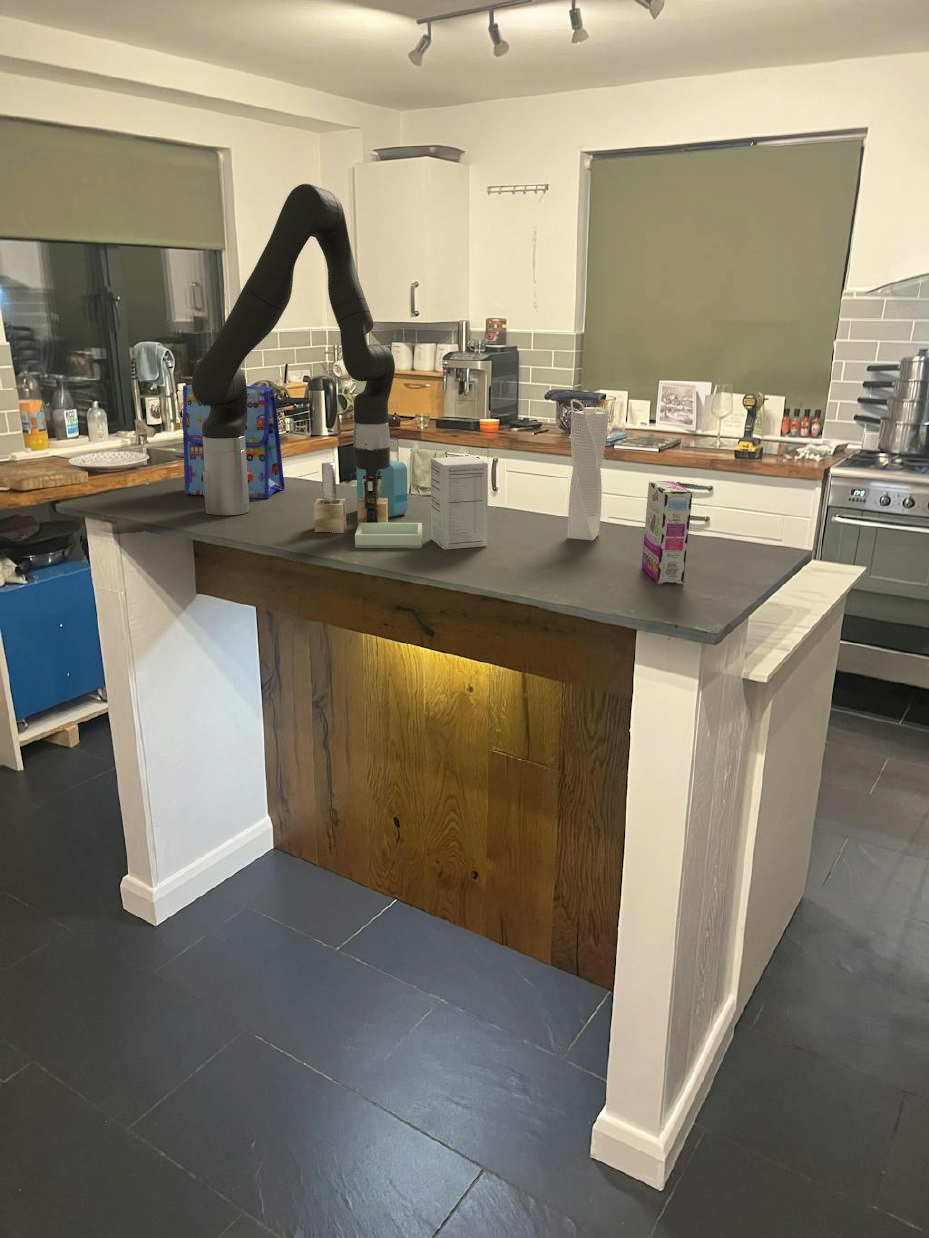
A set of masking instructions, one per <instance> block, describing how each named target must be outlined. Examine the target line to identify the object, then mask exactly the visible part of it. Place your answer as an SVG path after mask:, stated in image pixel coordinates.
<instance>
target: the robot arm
mask: <svg viewBox="0 0 929 1238" xmlns="http://www.w3.org/2000/svg"><path fill="white" fill-rule="evenodd" d="M311 237H313V238H315V239H316V240H315V241H317V244H318V245H319V247H320V250H321V251H322V253H323V256H324V260H325V264H326V269H327V292H328V299H329V303H330V306H331V309H332V312H333V314H334V315H333V316H334V318H335V321H336V323H337V326H338V328H339V332H340V345H341V352H342V353H341V354H342V361H343V366H344V368H345V370H346V372H347V374H348V375H349V376H350V377H351V378H352V379H353V380H354V381H356V382H366V383H365V385H364V390H363V391H362V392H360V393H358V394H356V395H355V396H354V399H353V422H354V423H353V435H352V436H353V467H354V468H358V469H364V470H365V471H366V475H364V476H363V478H362V484H363V486H364V490H363V497H364V499H365V505H364V507H365V509H366V510H367V523H378V520H377V510H378V500H379V499H380V497H381V493H382V486H381V485H382V475H380V474H381V472H380V470H379V469H386V468H388V467H389V466H390V460H391V446H390V445H391V444H390V443H391V439H390V436H391V435H390V427H389V406H388V404H389V399H390V395H391V392H392V391H391V390H392V386H393V382H394V377H395V371H396V363H395V358H394V355H393V353H392V351H391V350H390V348H389V347H388V346H386V345H384V344H376V343H375V344H368V343H367V338H366V337H367V336H366V335H367V334H369V333H370V332H371V331H372V330H373V329H374V320H373V316H372V313H371V310H370V308H369V305H368V302H367V299H366V296H365V294H364V290H363V287H362V285H361V282H360V278H359V276H358V271H357V267H356V263H355V260H354V256H353V249H352V246H351V242H350V236H349V231H348V225H347V220H346V215H345V211H344V208H343V204H342V202H341V201H340V199H339V198H338V196H337V195H336V194H335V193H333V192H331V191H329V190H327V189H325V188H322V187H318V186H317V185H314V184H310V183H301V184H299V185H297V186H295V187H294V188H293V189H292V190H291V191H290V193H289V194H288V195H287V198H286V199H285V201H284V203H283V206H282V207H281V210H280V213H279V215H278V217H277V220H276V223H275V225H274V227H273V230H272V233H271V235H270V236H269V239H268V242H267V243H266V245H265V247H264V249H263V251H262V253H261V254H260V256H259V258H258V261H257V262H256V265H255V267H254V268H253V270H252V272H251V274H250V276H249V277H248V279H247V281H246V282H245V284H244V286H243V288H242V290H241V291H240V293H239V295H238V297H237V300H236V301H235V304H234V305H233V307H232V309H231V310H230V313H229V315H228V316H227V319H226V320H225V322H224V324H223V325H222V328H221V330H220V332H219V334H218V335H217V337H216V338H215V340H214V342H213V343H212V345H211V346H210V348H209V349H208V351H207V352H206V353H205V355H204V356H203V358H201V360H200V362H199V363H198V365H197V366H196V368H195V369H194V372H193V374H192V376H191V383H190V385H191V387H192V392H193V395H194V396H195V398H196V399H197V401H199V402H200V403H202V404H204V405H208V406H210V413H209V416H208V418H207V419H206V420H205V421H204V423H203V424H202V436H203V448H204V461H205V471H204V472H203V481H204V494H205V496H204V504H205V514H206V515H216V516H238V515H242V514H247V513H249V512H250V511H251V508H250V498H249V491H248V475H247V460H246V445H245V426H246V423H247V386H248V385H247V380H246V376H245V373H244V372H243V370H242V368H241V367H240V366H241V365H242V364H243V362H244V360H245V359H246V357H247V356H248V355H249V354H250V353H251V352H252V351H253V350H254V349H255V348H256V347H257V346H258V345H259V344H261V342H263V340H264V339H266V338H267V336H268V335H269V334H270V333H271V332H272V330H273V329H274V328H275V327H276V325H277V324H278V322H279V320H280V319H281V317H282V315H283V313H284V312H285V310H286V308H287V307H288V305H289V303H290V300H291V298H292V297H291V296H292V292H293V284H294V283H293V282H294V270H295V267H296V266H295V265H296V264H297V263H296V262H297V260H298V259H299V256H300V254H301V253H302V250H303V249H304V247H305V245H306V243H307V242H308V241H309V240H310V238H311ZM370 499H374V503H368V500H370Z"/></svg>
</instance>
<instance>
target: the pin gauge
mask: <svg viewBox="0 0 929 1238" xmlns="http://www.w3.org/2000/svg"><path fill="white" fill-rule="evenodd" d="M336 474H337V473H336V463H335V462H322V463H321V482H322V483H321V484H322V499H323V504H337V500H336V499H337V479H336V478H337V475H336Z"/></svg>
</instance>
